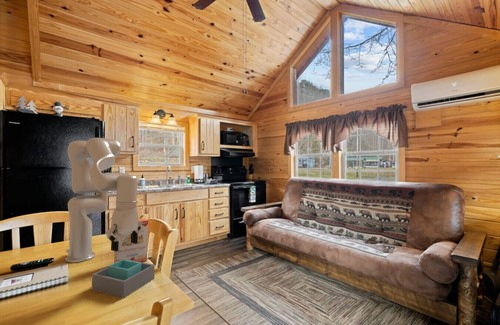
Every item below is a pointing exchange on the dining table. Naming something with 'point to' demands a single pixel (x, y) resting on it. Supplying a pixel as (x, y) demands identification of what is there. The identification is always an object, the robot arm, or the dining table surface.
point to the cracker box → (133, 245)
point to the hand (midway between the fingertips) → (124, 246)
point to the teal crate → (123, 269)
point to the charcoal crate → (122, 281)
